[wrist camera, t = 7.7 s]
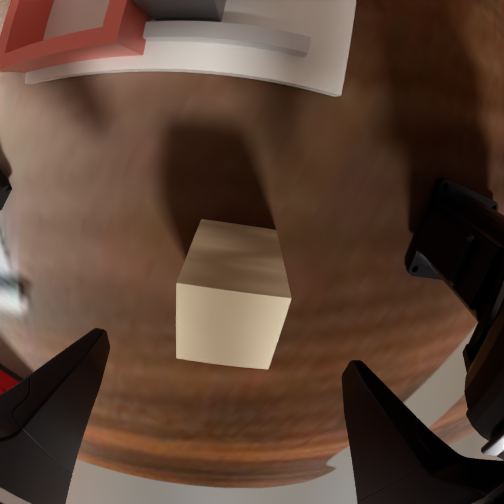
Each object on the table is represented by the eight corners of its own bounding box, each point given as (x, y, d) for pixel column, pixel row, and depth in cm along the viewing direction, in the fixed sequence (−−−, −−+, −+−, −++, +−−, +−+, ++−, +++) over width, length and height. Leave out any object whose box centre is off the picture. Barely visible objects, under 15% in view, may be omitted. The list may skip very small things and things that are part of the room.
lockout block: (276, 229, 15) (291, 298, 10) (262, 290, 17) (268, 369, 12) (201, 218, 15) (176, 282, 9) (195, 281, 17) (176, 357, 11)
